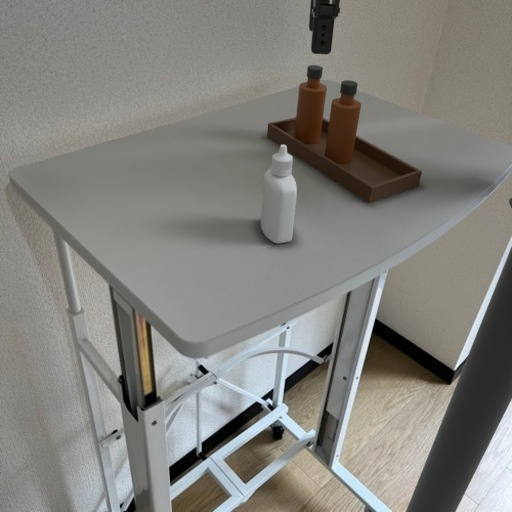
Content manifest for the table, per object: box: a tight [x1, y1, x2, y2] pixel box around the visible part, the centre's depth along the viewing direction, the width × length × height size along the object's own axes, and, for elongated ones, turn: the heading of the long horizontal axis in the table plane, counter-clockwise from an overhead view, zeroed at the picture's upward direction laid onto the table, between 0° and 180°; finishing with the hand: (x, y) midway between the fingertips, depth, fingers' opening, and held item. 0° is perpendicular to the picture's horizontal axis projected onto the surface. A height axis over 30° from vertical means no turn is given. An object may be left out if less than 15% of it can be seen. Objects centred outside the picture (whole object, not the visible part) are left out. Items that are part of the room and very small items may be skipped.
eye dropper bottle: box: [260, 145, 298, 244], centre depth 67 cm, size 4×6×12 cm
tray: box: [266, 116, 423, 204], centre depth 88 cm, size 10×25×2 cm, turn 34°
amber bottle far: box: [294, 64, 328, 144], centre depth 90 cm, size 4×4×12 cm
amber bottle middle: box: [325, 79, 362, 163], centre depth 84 cm, size 4×4×12 cm
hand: (319, 41), depth 64 cm, fingers open, 8 cm apart
